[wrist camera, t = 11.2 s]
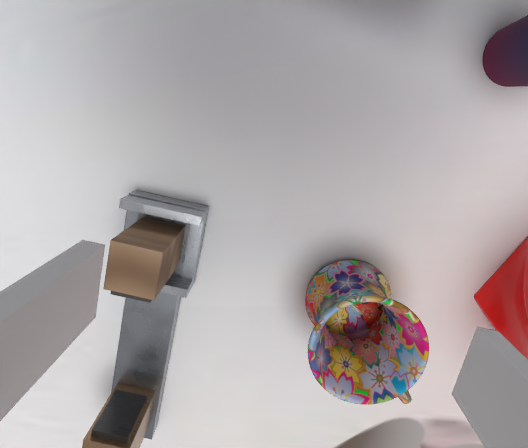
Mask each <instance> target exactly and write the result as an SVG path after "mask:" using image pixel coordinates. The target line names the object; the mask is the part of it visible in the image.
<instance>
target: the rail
mask: <svg viewBox="0 0 528 448" xmlns="http://www.w3.org/2000/svg"><path fill="white" fill-rule="evenodd" d="M119 208H122V209H126V210H127V212H126V219H125V226H124V230H126V229H127V228H128V227H130V226H131V225H132V224H134V223H135V222H136V221H138V220H139V219H140V218H142V217H143V216H144V217H149V218H153V219H157V220H162V221H166V222H170V223H175V224H179V225H183V226H185V231H184V237H183V242H182V247H181V252H180V258H179V263H178V266H177V268H176V269H175V271H174V272H173V274H172V275H171V276H170V278H169V279H168V281H167V282H166V284H165V285H164V287H163V288H162V290H161V291H160V293H159V294H158V296H157V297H156V299H155V300H152V301H151V303H149V302H144V301H140V300H135V299H131V298H126V299H125V305H124V312H123V319H122V325H121V332H120V339H119V345H118V352H117V359H116V365H115V372H114V379H113V385H112V392H111V395H110V397H109V398H108V400H107V401H106V403H105V405H104V406H103V408H102V410H101V411H100V413H99V415H98V416H97V418H96V420H95V421H94V423H93V425H92V426H91V428H90V430H89V431H88V433H87V435H86V436H85V438H84V440H83V446H82V448H140V445H141V443H142V440H143V438H148V439H152V437H153V435H154V432H155V430H156V427H157V423H158V417H159V412H160V406H161V401H162V396H163V390H164V385H165V379H166V374H167V369H168V363H169V358H170V352H171V347H172V342H173V336H174V331H175V325H176V320H177V315H178V309H179V304H180V298H181V297H185V298H186V297H187V295H188V293H189V291H190V289H191V288H192V286H193V284H194V282H195V277H196V272H197V267H198V262H199V257H200V251H201V246H202V241H203V236H204V231H205V225H206V220H207V215H208V210H209V206H206V205H201V204H197V203H192V202H188V201H183V200H179V199H174V198H170V197H165V196H161V195H156V194H152V193H147V192H143V191H138V190H135V191H133V192H131V193H129V195H127V196H126V197H124V198H122V199H120V205H119Z"/></svg>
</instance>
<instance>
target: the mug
mask: <svg viewBox="0 0 528 448" xmlns="http://www.w3.org/2000/svg"><path fill="white" fill-rule="evenodd" d="M306 310H307V313H308V316H309V318H310V320H311V321H312V323H313V324H314V325H315V327H314V329H313V331H312V333H311V336H310V339H309V344H308V359H309V364H310V368H311V370H312V373H313V375H314V376H315V378H316V380H317V381H318V382H319V384H320V385H321V386H322V387H323V388H324V389H325V390H326V391H328V392H329V393H330V394H332V395H333V396H335V397H337V398H339V399H341V400H344V401H347V402H351V403H355V404H377V403H382V402H386V401H389V400H392V399H394V398H396V397H399V399H400V400H401V401H402V402H403V403H404V404H407V403H409V402H410V401H411V396H410V394H409V392H408V390H409V389H410V388H411V387H412V386H413V385H414V384H415V383H416V382H417V380H418V379H419V378H420V376H421V375H422V373H423V371H424V369H425V367H426V364H427V360H428V355H429V341H428V336H427V333H426V330H425V328H424V326H423V324H422V323H421V321H420V320H419V318H418V317H417V316H416V315H415V314H414V313H413V312H412V311H411V310H410V309H409V308H408V307H406V306H405V305H403V304H401V303H399V302H397V301H395V300H392V294H391V289H390V286H389V284H388V281H387V280H386V278H385V277H384V275H383V274H382V273H381V272H380V271H379V270H377V269H376V268H375V267H373V266H371V265H369V264H367V263H364V262H361V261H356V260H343V261H338V262H335V263H332V264H330V265H328V266H326V267H325V268H323V269H322V270H321V271H319V272H318V273H317V274H316V275H315V277H314V278H313V279H312V281H311V283H310V285H309V287H308V289H307V293H306Z"/></svg>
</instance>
